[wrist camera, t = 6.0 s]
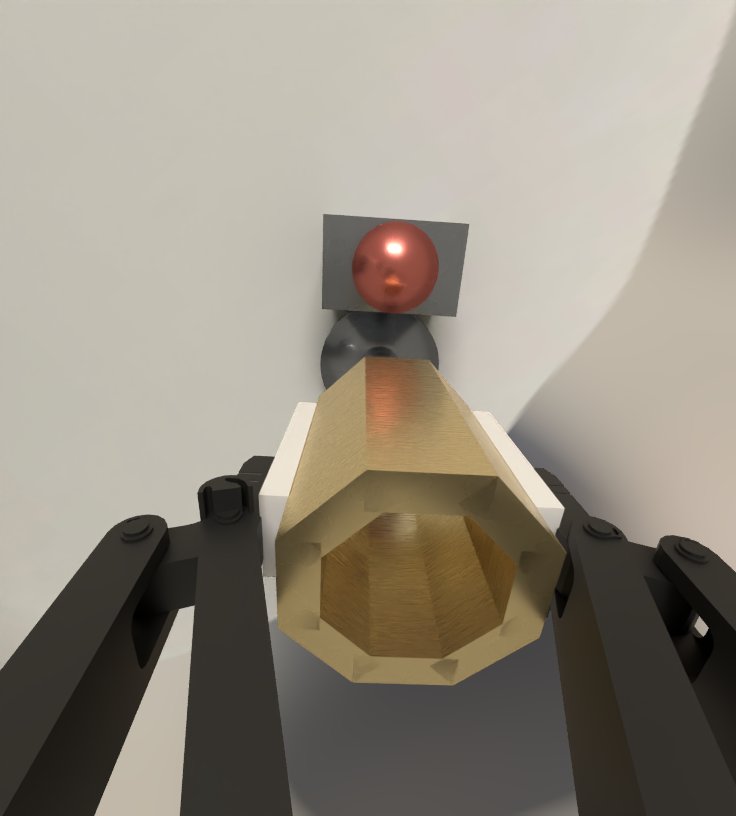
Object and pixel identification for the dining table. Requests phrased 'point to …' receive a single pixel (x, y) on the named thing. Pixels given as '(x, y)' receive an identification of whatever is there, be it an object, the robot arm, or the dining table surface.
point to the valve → (387, 287)
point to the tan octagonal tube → (408, 535)
